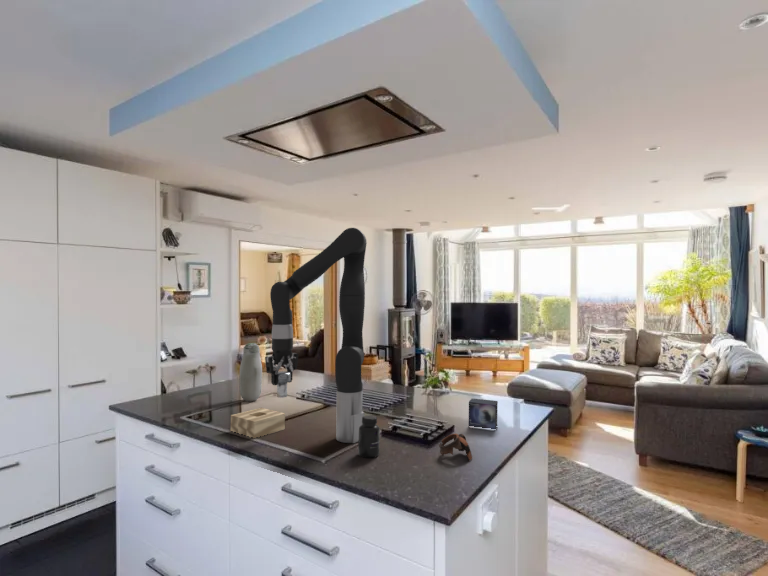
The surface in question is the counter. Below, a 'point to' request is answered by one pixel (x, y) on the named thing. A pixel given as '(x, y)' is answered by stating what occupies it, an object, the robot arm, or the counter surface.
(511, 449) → the counter surface
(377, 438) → the supplement bottle
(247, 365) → the grey bottle
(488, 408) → the small box
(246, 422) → the oak block
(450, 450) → the brown curved band
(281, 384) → the steel pin
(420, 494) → the counter surface
